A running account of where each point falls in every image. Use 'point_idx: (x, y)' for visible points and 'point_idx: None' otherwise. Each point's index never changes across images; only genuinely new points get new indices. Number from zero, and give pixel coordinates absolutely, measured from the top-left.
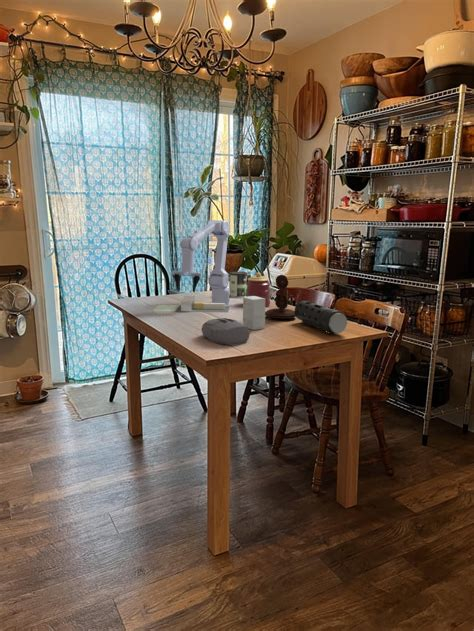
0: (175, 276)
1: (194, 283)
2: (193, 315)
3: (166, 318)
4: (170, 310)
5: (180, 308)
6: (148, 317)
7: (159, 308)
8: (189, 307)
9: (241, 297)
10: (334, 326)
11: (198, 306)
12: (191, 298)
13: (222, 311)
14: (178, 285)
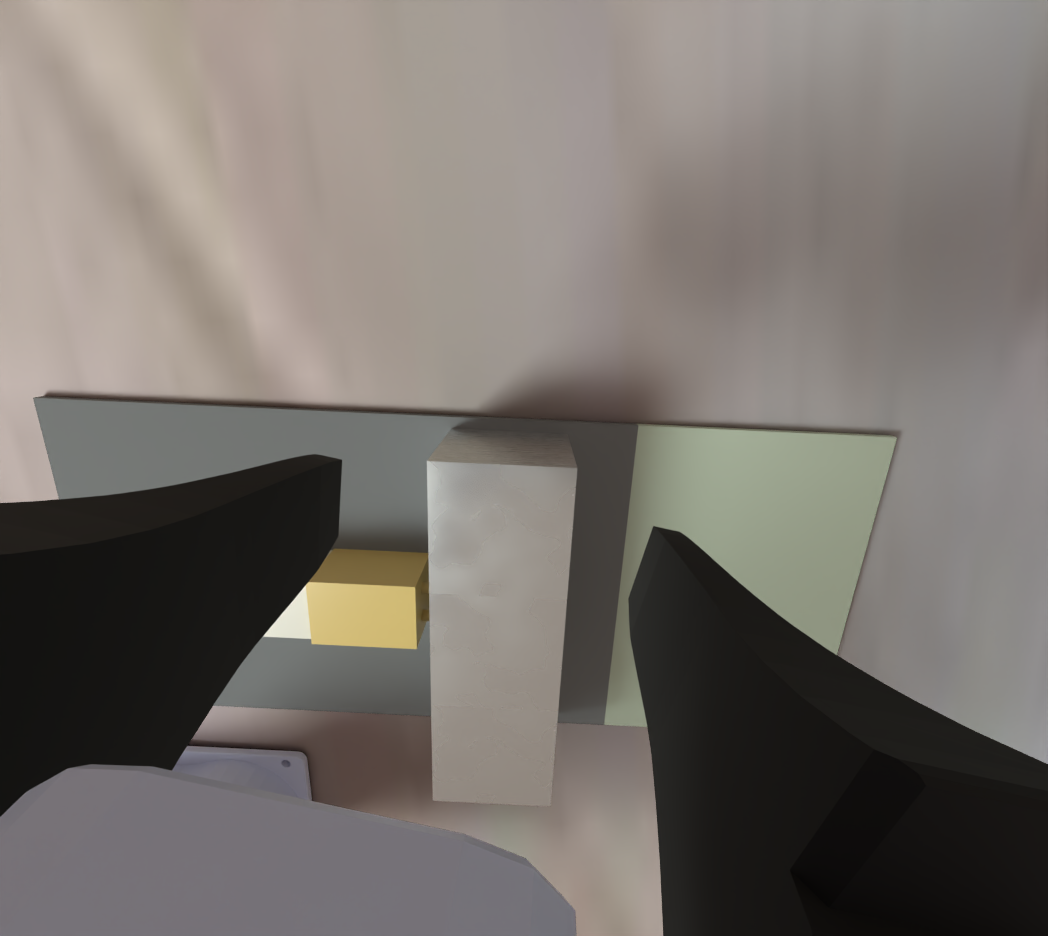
0: (1027, 782)
1: (154, 499)
2: (409, 253)
3: (736, 36)
4: (691, 481)
5: (585, 584)
6: (970, 98)
7: (810, 580)
8: (467, 440)
9: None
10: None
11: (380, 565)
12: (453, 672)
13: (108, 442)
14: (684, 586)
